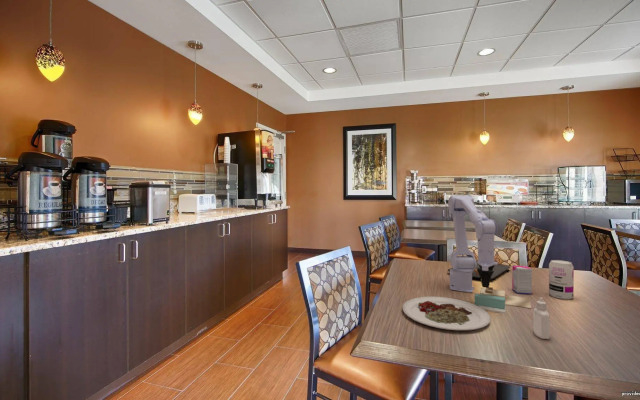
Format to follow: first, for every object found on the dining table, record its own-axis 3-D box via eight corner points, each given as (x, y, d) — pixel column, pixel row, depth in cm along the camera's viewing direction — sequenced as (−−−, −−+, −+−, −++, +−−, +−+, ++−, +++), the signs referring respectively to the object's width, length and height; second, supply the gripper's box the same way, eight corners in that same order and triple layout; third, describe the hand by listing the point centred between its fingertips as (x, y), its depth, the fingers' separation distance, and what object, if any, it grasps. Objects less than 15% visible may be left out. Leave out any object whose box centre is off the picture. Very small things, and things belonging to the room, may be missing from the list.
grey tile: (478, 309, 116) (478, 307, 116) (479, 301, 123) (479, 300, 123) (505, 313, 111) (505, 312, 111) (505, 305, 119) (505, 304, 119)
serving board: (490, 285, 146) (490, 272, 146) (443, 276, 163) (443, 264, 163) (512, 270, 172) (512, 259, 172) (471, 263, 189) (471, 254, 189)
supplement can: (569, 294, 130) (569, 260, 129) (576, 301, 122) (576, 265, 122) (546, 292, 133) (546, 259, 133) (552, 298, 125) (552, 263, 125)
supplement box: (532, 294, 131) (532, 268, 130) (517, 294, 132) (517, 268, 131) (526, 290, 136) (526, 265, 136) (511, 289, 137) (511, 265, 137)
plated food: (491, 343, 91) (491, 332, 90) (393, 323, 105) (393, 313, 105) (490, 308, 117) (490, 300, 117) (412, 296, 131) (411, 289, 131)
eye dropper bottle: (531, 336, 93) (531, 298, 93) (533, 330, 98) (533, 294, 97) (549, 341, 91) (549, 302, 90) (550, 334, 95) (550, 297, 94)
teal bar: (474, 304, 119) (474, 295, 119) (475, 301, 122) (475, 293, 122) (505, 309, 113) (504, 300, 113) (504, 306, 116) (504, 297, 116)
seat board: (478, 300, 124) (478, 291, 124) (480, 292, 135) (480, 283, 135) (531, 308, 115) (531, 299, 115) (528, 299, 125) (528, 290, 125)
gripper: (497, 255, 109) (497, 291, 110) (497, 248, 122) (497, 281, 122) (475, 253, 113) (475, 288, 113) (478, 246, 125) (478, 278, 126)
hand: (485, 284), depth 118 cm, fingers open, 7 cm apart
